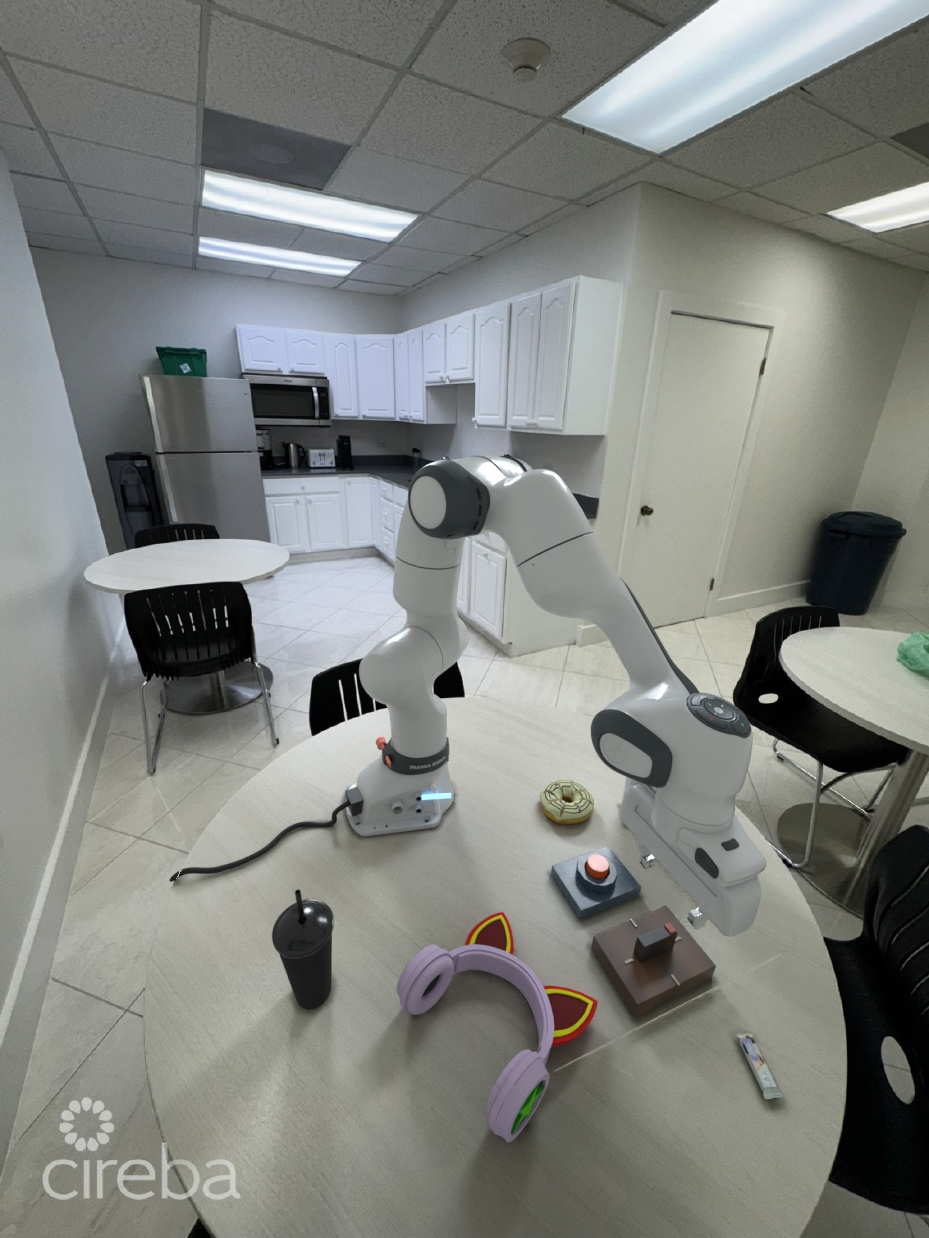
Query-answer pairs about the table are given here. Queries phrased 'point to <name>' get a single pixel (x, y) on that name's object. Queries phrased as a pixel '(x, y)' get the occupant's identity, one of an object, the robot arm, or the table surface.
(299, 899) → the drinking cup
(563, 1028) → the headphones
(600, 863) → the button
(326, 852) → the table surface
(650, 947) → the handle
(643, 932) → the panel
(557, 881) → the button box
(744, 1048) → the granola bar
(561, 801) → the decorated donut
